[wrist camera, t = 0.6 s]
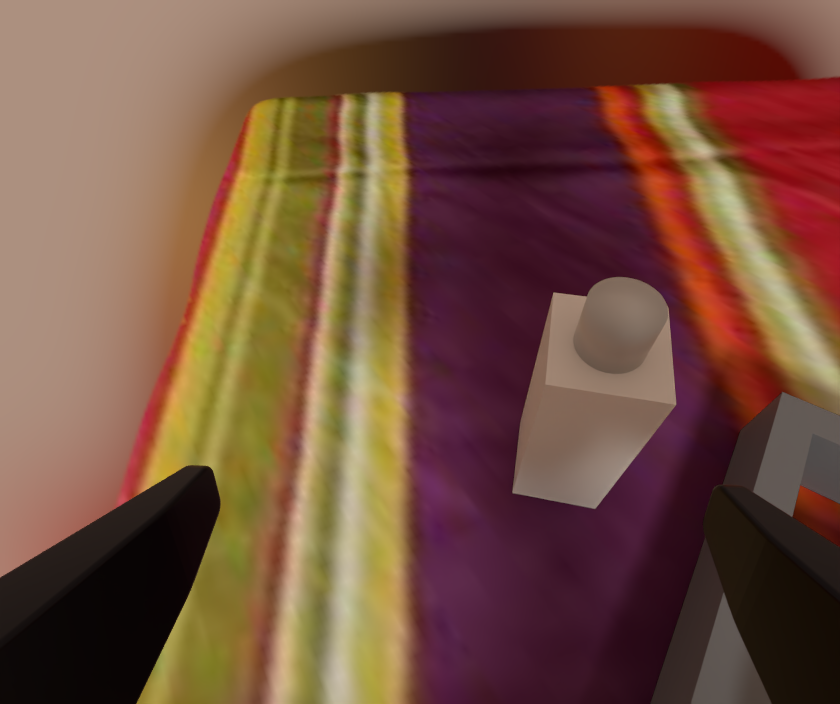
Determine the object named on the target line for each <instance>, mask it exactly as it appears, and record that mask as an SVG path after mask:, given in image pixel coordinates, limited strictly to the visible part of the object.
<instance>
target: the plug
mask: <svg viewBox="0 0 840 704" xmlns="http://www.w3.org/2000/svg"><path fill="white" fill-rule="evenodd" d="M675 406H676V396H675V384H674V371H673V359H672V346H671V334H670V321H669V309H668V307H667V304H666V302H665V300H664V298H663V297H662V296H661V294H660V293H659V292H658V291H657V290H655V289H654V288H653V287H651V286H650V285H648V284H646V283H644V282H642V281H639V280H636V279H632V278H627V277H613V278H608V279H605V280H602V281H600V282H598V283H597V284H595V285H594V286H593V287H592V288H591V290H590V291H589V293H588V295H587V297H585V296H577V295H569V294H561V293H553V296H552V300H551V304H550V308H549V312H548V316H547V320H546V324H545V328H544V331H543V335H542V339H541V343H540V347H539V351H538V355H537V359H536V363H535V367H534V371H533V374H532V378H531V382H530V386H529V390H528V394H527V398H526V402H525V406H524V410H523V414H522V417H521V421H520V430H519V438H518V447H517V456H516V464H515V473H514V482H513V491H512V493H515V494H520V495H525V496H530V497H536V498H541V499H546V500H551V501H557V502H562V503H567V504H572V505H577V506H583V507H588V508H593V509H596V507H597V506H598V505H599V503H600V502H601V501H602V500H603V498H604V497H605V496H606V494H607V493H608V492H609V491H610V489H611V488H612V487H613V485H614V484H615V483H616V482H617V480H618V479H619V478H620V476H621V475H622V474H623V473H624V471H625V470H626V469H627V467H628V466H629V465H630V464H631V462H632V461H633V460H634V458H635V457H636V456H637V455H638V453H639V452H640V451H641V449H642V448H643V447H644V446H645V444H646V443H647V442H648V440H649V439H650V438H651V437H652V435H653V434H654V433H655V431H656V430H657V429H658V427H659V426H660V425H661V424H662V422H663V421H664V420H665V418H666V417H667V416H668V415H669V413H670V412H671V411H672V409H673V408H674V407H675Z"/></svg>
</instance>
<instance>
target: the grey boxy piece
mask: <svg viewBox="0 0 840 704" xmlns="http://www.w3.org/2000/svg"><path fill="white" fill-rule="evenodd" d="M723 485H740V486H744V487H746V488H747V489H749V490H751V491H752V492H754V493H755V494H757V495H758V496H760V497H762V498H763V499H765V500H766V501H768V502H769V503H771V504H773V505H774V506H776V507H777V508H779V509H780V510H782V511H784V512H785V513H787V514H788V515H790V516H791V517H792V516H793V512H794V508H795V504H796V500H797V496H798V492H799V488H800V485H801V486H803V487H806V488H808V489H810V490H812V491H814V492H816V493H818V494H820V495H822V496H825V497H827V498H829V499H831V500H833V501H835V502H837V503H839V504H840V416H839V415H837V414H834V413H832V412H829V411H827V410H825V409H822V408H820V407H817V406H815V405H813V404H810V403H808V402H806V401H803V400H801V399H798V398H796V397H794V396H791V395H789V394H786V393H784V392H782V393H781V394H780V395H779V396H778V397H776V398H775V399H774V400H773V401H772V402H771V403H770V404H769V405H768V406H767V407H766V408H764V409H763V410H762V411H761V412H760V413H759V414H758V415H757V416H756V417H755V418H753V419H752V420H751V421H750V422H749V423H748V424H747V425H746V426H745V427H744V428H743V429H741V430H740V433H739V437H738V440H737V443H736V446H735V449H734V452H733V455H732V458H731V461H730V464H729V467H728V470H727V473H726V476H725V479H724V482H723ZM650 704H772V703H771V701H770V699H769V697H768V695H767V692H766V690H765V688H764V686H763V684H762V682H761V679H760V677H759V675H758V673H757V671H756V668H755V666H754V664H753V662H752V660H751V657H750V655H749V653H748V651H747V649H746V647H745V644H744V642H743V640H742V638H741V636H740V633H739V631H738V629H737V626H736V624H735V622H734V619H733V617H732V614H731V611H730V608H729V606H728V603H727V600H726V597H725V594H724V591H723V588H722V585H721V582H720V579H719V576H718V573H717V570H716V567H715V564H714V561H713V558H712V556H711V553H710V550H709V547H708V544H707V541H706V538H705V539H704V542H703V545H702V548H701V552H700V555H699V558H698V561H697V564H696V567H695V570H694V573H693V576H692V579H691V582H690V585H689V588H688V591H687V594H686V597H685V600H684V603H683V606H682V609H681V612H680V615H679V618H678V621H677V624H676V627H675V630H674V633H673V636H672V639H671V642H670V645H669V648H668V651H667V654H666V657H665V660H664V664H663V667H662V670H661V673H660V676H659V679H658V682H657V685H656V688H655V691H654V694H653V697H652V700H651V703H650Z"/></svg>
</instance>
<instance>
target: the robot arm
mask: <svg viewBox="0 0 840 704" xmlns="http://www.w3.org/2000/svg"><path fill="white" fill-rule="evenodd" d="M219 511H220V496H219V492H218V488H217V484H216V480H215V477H214V473H213V470H212V469H211V468H210V467H208V466H198V465H190V466H186V467H184V468H182V469H181V470H179V471H177V472H176V473H174V474H172V475H171V476H169V477H167V478H166V479H164V480H162V481H161V482H159V483H157V484H156V485H154V486H152V487H151V488H149V489H147V490H146V491H144V492H142V493H141V494H139V495H137V496H136V497H134V498H132V499H131V500H129V501H127V502H126V503H124V504H122V505H121V506H119V507H117V508H116V509H114V510H112V511H111V512H109V513H107V514H106V515H104V516H102V517H101V518H99V519H97V520H96V521H94V522H92V523H91V524H89V525H87V526H86V527H84V528H82V529H81V530H79V531H77V532H76V533H74V534H72V535H71V536H69V537H67V538H66V539H64V540H62V541H61V542H59V543H57V544H56V545H54V546H52V547H51V548H49V549H47V550H46V551H44V552H42V553H41V554H39V555H37V556H36V557H34V558H32V559H30V560H29V561H27V562H25V563H24V564H22V565H20V566H19V567H17V568H16V569H14V570H12V571H11V572H9V573H7V574H5V575H4V576H2V577H1V578H0V704H136V703H137V701H138V699H139V697H140V695H141V693H142V691H143V689H144V687H145V685H146V682H147V680H148V678H149V676H150V674H151V672H152V670H153V668H154V666H155V664H156V662H157V660H158V658H159V656H160V653H161V651H162V649H163V647H164V645H165V643H166V641H167V639H168V637H169V635H170V633H171V631H172V629H173V627H174V624H175V622H176V620H177V618H178V616H179V614H180V612H181V610H182V608H183V606H184V604H185V602H186V599H187V597H188V595H189V593H190V591H191V588H192V586H193V583H194V581H195V578H196V575H197V573H198V570H199V567H200V564H201V561H202V559H203V556H204V553H205V550H206V548H207V545H208V542H209V539H210V537H211V534H212V531H213V528H214V526H215V523H216V520H217V517H218V514H219ZM703 530H704V535H705V538H706V541H707V544H708V547H709V550H710V553H711V556H712V558H713V561H714V564H715V567H716V570H717V573H718V576H719V579H720V582H721V585H722V588H723V591H724V594H725V597H726V600H727V603H728V606H729V608H730V611H731V614H732V617H733V619H734V622H735V624H736V626H737V629H738V631H739V633H740V636H741V638H742V640H743V642H744V644H745V647H746V649H747V651H748V653H749V655H750V657H751V660H752V662H753V664H754V666H755V668H756V671H757V673H758V675H759V677H760V679H761V682H762V684H763V686H764V688H765V690H766V692H767V695H768V697H769V699H770V701H771V703H772V704H840V547H838V546H837V545H835V544H834V543H832V542H831V541H829V540H827V539H826V538H824V537H823V536H821V535H820V534H818V533H816V532H815V531H813V530H812V529H810V528H809V527H807V526H805V525H804V524H802V523H801V522H799V521H798V520H796V519H795V518H793V517H791V516H790V515H788V514H787V513H785V512H784V511H782V510H780V509H779V508H777V507H776V506H774V505H773V504H771V503H769V502H768V501H766V500H765V499H763V498H762V497H760V496H758V495H757V494H755V493H754V492H752V491H751V490H749V489H747V488H746V487H744V486H740V485H717V486H715V488H714V489H713V491H712V494H711V497H710V500H709V503H708V506H707V509H706V512H705V516H704V519H703Z"/></svg>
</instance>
